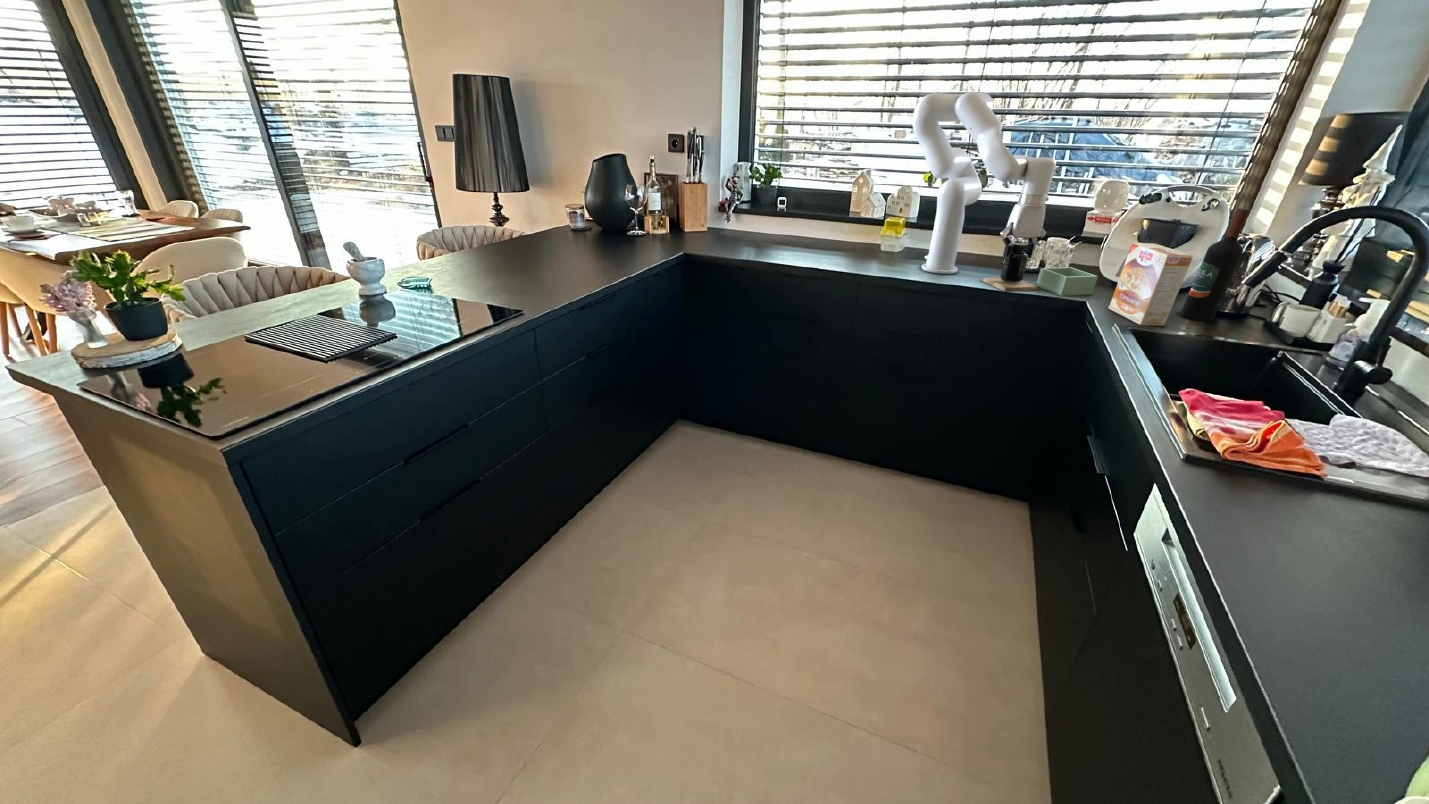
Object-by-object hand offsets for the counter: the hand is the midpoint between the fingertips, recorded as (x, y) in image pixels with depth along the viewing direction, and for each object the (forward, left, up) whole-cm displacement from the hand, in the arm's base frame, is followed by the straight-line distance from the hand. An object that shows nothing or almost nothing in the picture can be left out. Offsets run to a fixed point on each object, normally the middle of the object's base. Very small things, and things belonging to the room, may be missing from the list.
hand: (1016, 256), depth 183 cm
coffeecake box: (+35, +16, -10) cm, 39 cm away
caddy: (+7, +15, -10) cm, 19 cm away
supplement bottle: (0, 0, -8) cm, 8 cm away
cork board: (0, 0, -10) cm, 10 cm away
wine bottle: (+37, +34, -10) cm, 51 cm away
